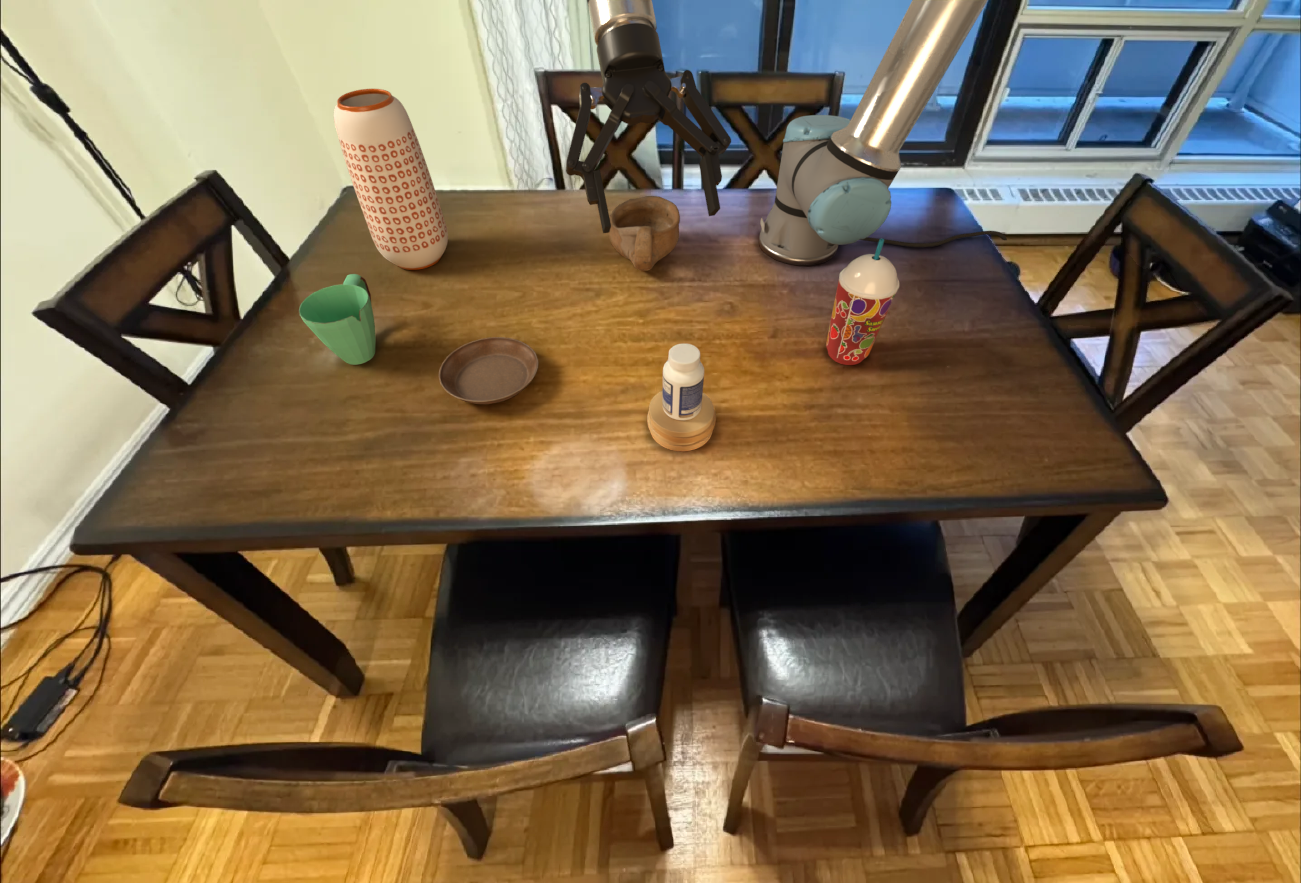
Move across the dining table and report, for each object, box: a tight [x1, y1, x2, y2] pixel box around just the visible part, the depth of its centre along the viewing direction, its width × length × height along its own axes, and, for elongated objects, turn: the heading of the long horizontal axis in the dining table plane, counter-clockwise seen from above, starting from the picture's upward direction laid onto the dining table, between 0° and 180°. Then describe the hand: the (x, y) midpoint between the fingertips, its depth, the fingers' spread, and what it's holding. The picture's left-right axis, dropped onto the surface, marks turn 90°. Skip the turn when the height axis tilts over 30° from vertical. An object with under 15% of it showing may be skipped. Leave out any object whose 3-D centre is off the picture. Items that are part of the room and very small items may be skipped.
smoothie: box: [825, 238, 900, 366], centre depth 86 cm, size 8×8×20 cm
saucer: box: [438, 336, 539, 405], centre depth 89 cm, size 15×15×3 cm
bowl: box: [608, 195, 681, 271], centre depth 110 cm, size 18×14×10 cm
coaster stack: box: [646, 389, 717, 452], centre depth 82 cm, size 10×10×4 cm
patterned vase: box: [333, 88, 449, 271], centre depth 103 cm, size 13×13×28 cm
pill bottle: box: [662, 343, 705, 420], centre depth 77 cm, size 5×5×10 cm
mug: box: [298, 273, 377, 366], centre depth 92 cm, size 15×10×10 cm
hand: (661, 221), depth 72 cm, fingers open, 13 cm apart
